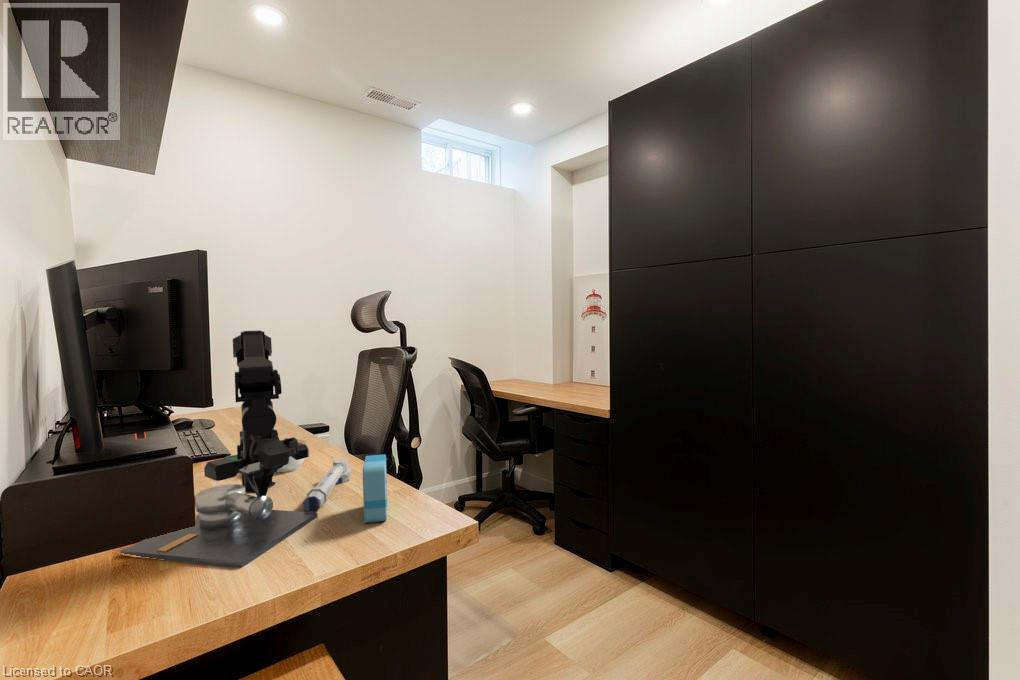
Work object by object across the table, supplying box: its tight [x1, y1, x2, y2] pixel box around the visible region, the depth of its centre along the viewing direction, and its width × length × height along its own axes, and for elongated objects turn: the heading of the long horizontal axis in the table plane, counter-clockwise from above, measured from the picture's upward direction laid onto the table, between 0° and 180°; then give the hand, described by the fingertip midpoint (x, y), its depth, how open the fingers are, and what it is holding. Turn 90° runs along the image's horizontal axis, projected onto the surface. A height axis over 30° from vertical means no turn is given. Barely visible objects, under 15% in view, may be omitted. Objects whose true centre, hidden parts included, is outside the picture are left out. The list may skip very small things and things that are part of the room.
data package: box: [362, 454, 388, 524], centre depth 105 cm, size 12×4×12 cm, turn 14°
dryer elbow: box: [195, 483, 274, 520], centre depth 98 cm, size 18×9×5 cm, turn 63°
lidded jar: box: [275, 437, 307, 473], centre depth 140 cm, size 11×11×9 cm
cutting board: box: [119, 509, 318, 569], centre depth 95 cm, size 26×22×4 cm
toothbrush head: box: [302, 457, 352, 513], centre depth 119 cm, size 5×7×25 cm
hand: (261, 500), depth 97 cm, fingers closed
